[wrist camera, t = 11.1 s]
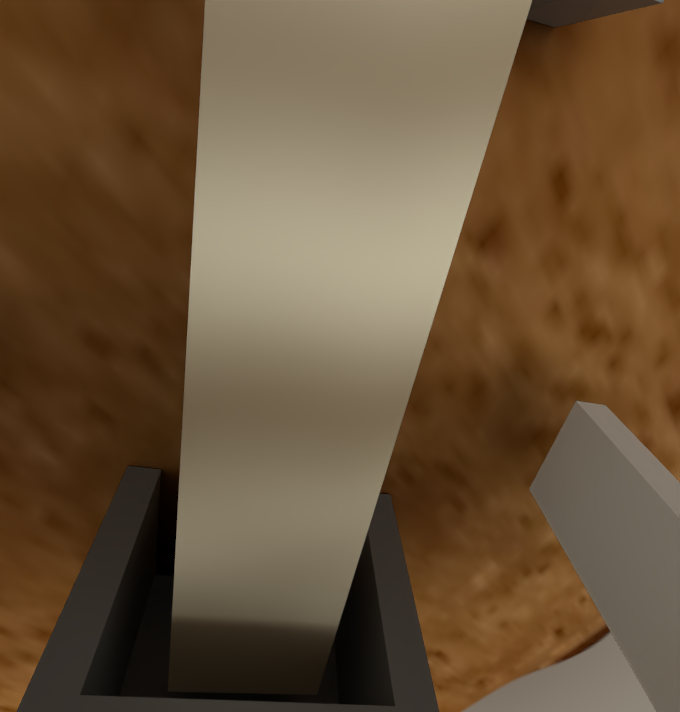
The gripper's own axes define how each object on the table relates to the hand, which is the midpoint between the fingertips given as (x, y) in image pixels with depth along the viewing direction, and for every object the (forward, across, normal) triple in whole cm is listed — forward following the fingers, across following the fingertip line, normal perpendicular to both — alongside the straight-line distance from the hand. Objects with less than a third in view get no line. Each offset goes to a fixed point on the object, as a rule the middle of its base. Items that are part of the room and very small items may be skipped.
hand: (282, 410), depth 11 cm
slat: (+4, 0, +1) cm, 4 cm away
